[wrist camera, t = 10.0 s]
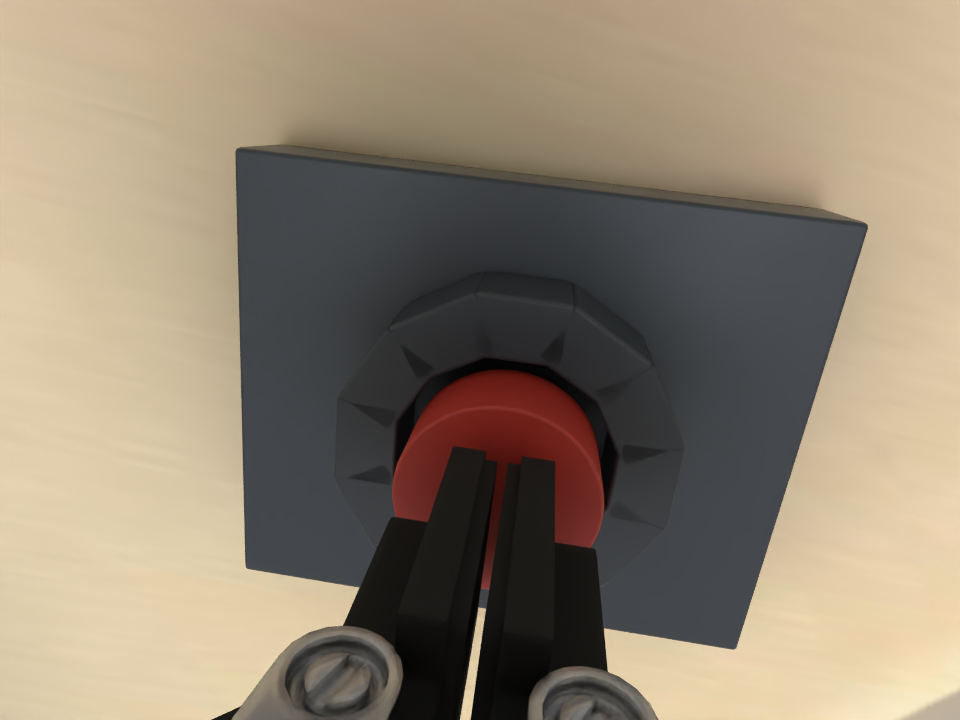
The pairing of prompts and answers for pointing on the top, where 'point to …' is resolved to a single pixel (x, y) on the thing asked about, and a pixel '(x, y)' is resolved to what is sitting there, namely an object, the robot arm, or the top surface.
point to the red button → (505, 450)
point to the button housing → (532, 358)
